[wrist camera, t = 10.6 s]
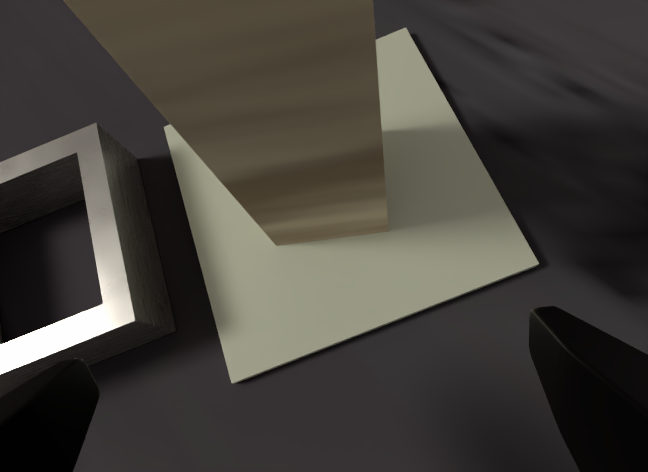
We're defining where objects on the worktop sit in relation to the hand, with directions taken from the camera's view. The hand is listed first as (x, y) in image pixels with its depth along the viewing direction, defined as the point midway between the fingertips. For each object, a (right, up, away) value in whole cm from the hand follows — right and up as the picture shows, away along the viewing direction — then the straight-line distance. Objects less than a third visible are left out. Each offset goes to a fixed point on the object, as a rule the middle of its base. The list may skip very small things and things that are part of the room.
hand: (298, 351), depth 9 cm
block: (+1, +4, +9) cm, 10 cm away
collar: (-11, +1, +11) cm, 15 cm away
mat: (+1, +4, +10) cm, 11 cm away
